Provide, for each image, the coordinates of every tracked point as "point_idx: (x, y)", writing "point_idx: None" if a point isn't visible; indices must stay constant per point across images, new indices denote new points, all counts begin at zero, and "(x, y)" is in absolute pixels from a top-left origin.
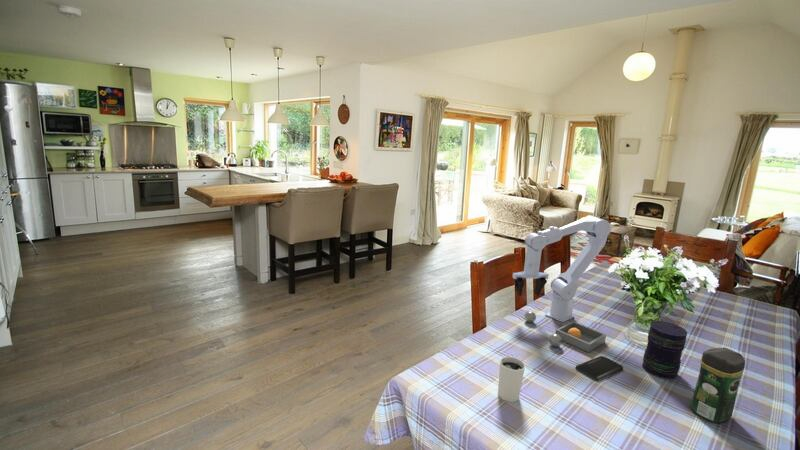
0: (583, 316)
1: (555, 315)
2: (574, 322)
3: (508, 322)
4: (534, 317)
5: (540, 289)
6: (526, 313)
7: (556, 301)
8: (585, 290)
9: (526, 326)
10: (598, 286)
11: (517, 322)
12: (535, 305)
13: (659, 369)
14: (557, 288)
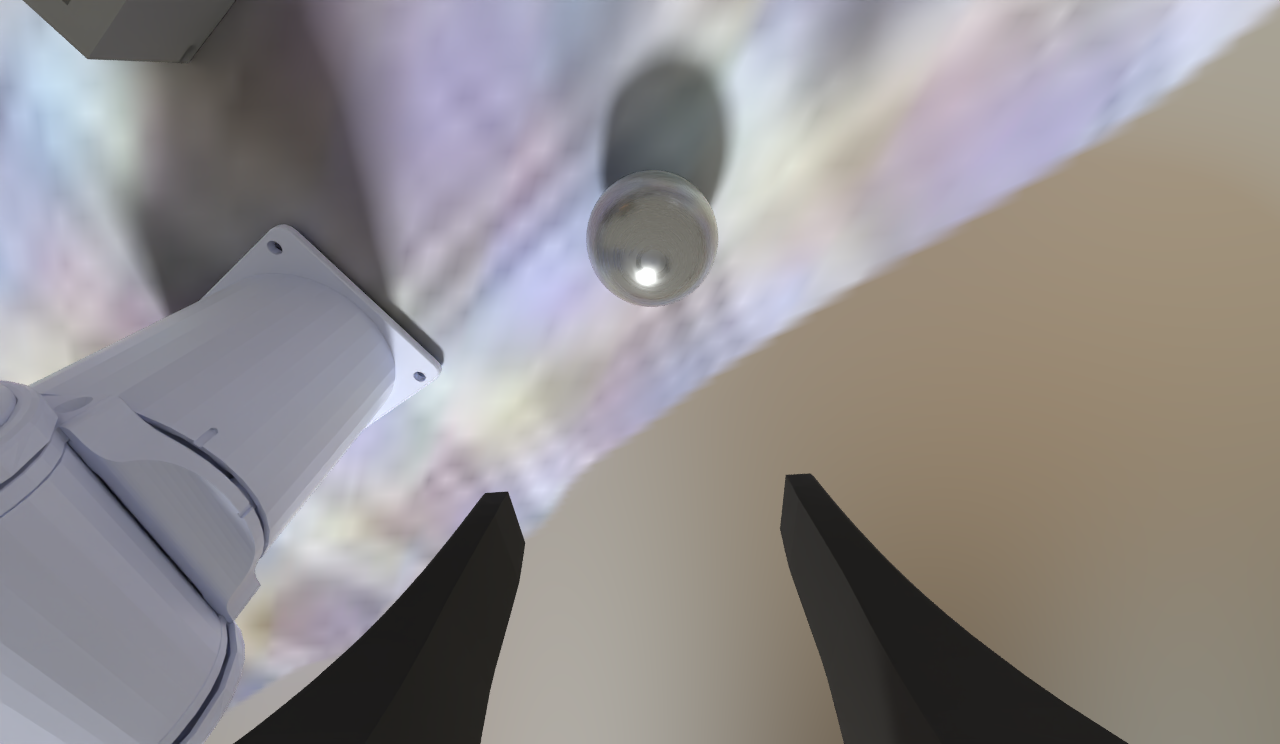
0: (73, 360)
1: (338, 313)
2: (58, 4)
3: (890, 206)
4: (623, 187)
5: (429, 587)
6: (706, 256)
7: (234, 415)
8: None
9: (734, 109)
10: None
11: (789, 209)
12: None
13: None
14: (44, 619)
